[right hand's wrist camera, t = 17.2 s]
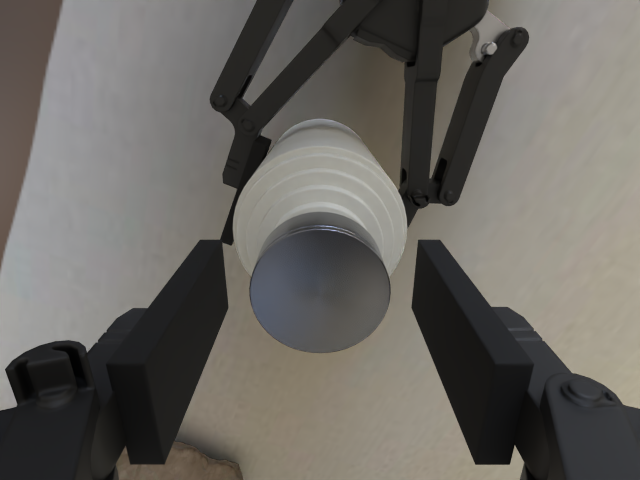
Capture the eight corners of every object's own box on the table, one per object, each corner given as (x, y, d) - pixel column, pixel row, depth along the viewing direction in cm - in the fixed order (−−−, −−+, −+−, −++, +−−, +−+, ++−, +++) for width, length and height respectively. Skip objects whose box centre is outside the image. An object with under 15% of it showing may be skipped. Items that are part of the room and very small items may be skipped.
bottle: (269, 115, 29) (195, 162, 12) (377, 122, 29) (459, 179, 12) (267, 217, 32) (206, 375, 15) (365, 223, 32) (418, 386, 15)
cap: (280, 336, 16) (275, 366, 14) (239, 231, 14) (228, 251, 12) (394, 307, 15) (404, 335, 13) (365, 195, 13) (371, 211, 12)
